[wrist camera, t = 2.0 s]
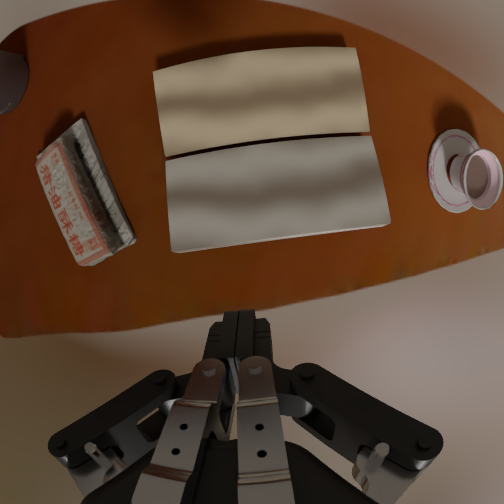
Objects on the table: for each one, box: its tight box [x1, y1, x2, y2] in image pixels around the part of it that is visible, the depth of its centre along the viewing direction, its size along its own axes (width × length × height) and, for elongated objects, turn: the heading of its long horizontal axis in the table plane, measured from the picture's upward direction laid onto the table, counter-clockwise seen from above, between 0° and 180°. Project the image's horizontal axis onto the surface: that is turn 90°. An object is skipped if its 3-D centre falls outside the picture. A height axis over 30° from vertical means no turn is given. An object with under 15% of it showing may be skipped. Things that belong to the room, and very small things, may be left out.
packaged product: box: [35, 118, 137, 266], centre depth 29 cm, size 18×5×10 cm
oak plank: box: [153, 47, 370, 157], centre depth 26 cm, size 10×22×3 cm, turn 98°
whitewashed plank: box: [166, 136, 391, 253], centre depth 28 cm, size 10×22×2 cm, turn 99°
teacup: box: [427, 129, 503, 213], centre depth 27 cm, size 12×12×6 cm
